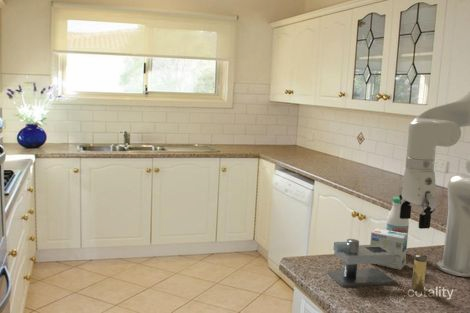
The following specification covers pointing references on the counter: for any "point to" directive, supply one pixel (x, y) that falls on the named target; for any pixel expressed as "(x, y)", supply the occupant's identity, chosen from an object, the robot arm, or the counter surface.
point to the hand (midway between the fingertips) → (414, 223)
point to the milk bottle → (396, 219)
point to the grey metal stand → (361, 255)
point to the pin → (419, 272)
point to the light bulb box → (391, 245)
